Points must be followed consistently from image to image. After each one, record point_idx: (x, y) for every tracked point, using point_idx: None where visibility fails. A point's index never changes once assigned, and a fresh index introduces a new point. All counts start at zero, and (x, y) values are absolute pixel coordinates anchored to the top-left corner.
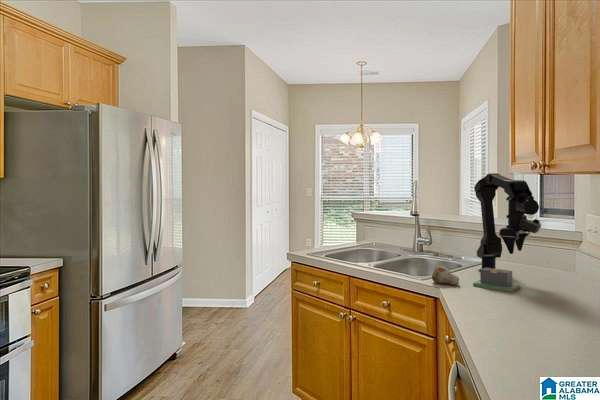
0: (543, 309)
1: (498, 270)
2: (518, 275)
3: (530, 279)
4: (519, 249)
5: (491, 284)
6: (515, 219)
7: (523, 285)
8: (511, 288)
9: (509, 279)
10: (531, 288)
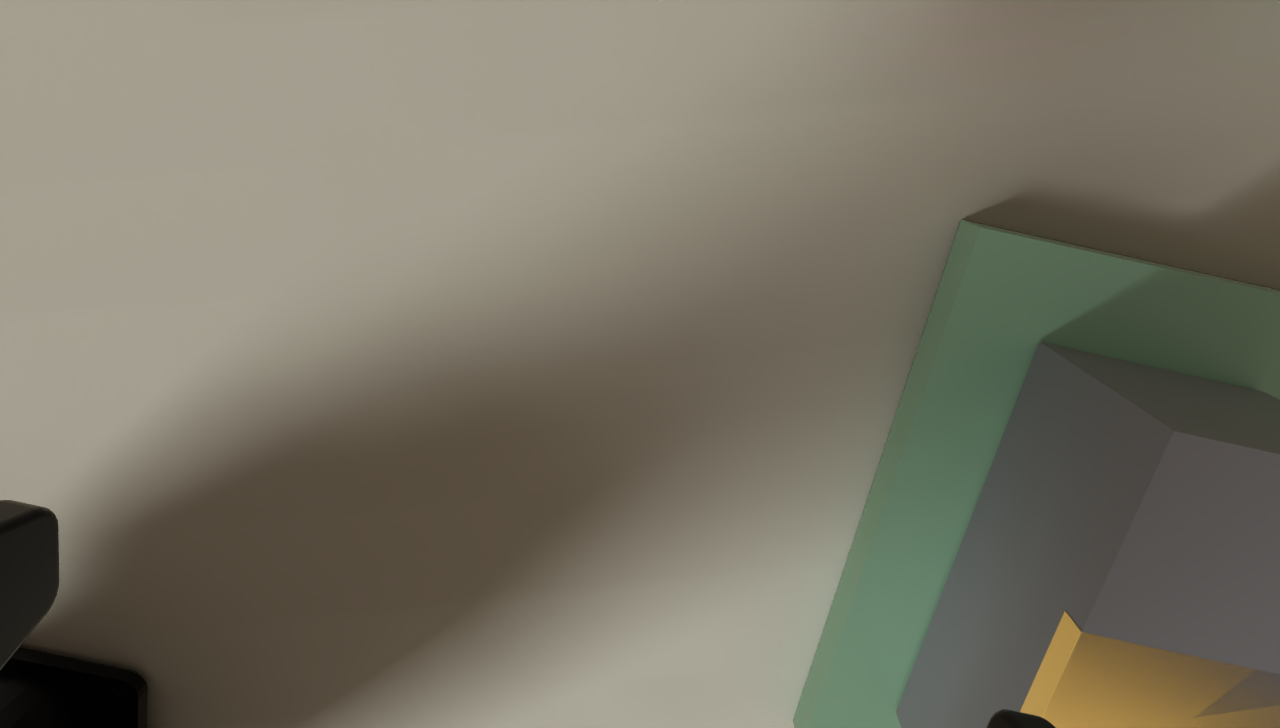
0: None
1: (1211, 680)
2: (42, 330)
3: (231, 116)
4: (17, 586)
5: None
6: None
7: (775, 177)
8: None
9: (1233, 407)
10: (955, 27)
